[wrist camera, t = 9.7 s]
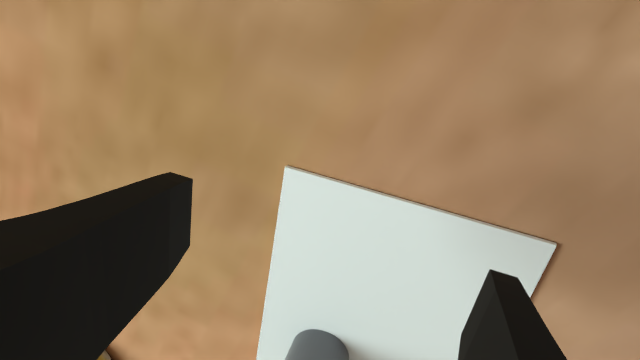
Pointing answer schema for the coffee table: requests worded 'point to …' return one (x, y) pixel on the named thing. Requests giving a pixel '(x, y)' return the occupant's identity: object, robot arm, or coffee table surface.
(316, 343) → the grey teal-capped tube
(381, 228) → the paper
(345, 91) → the coffee table surface
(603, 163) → the coffee table surface
